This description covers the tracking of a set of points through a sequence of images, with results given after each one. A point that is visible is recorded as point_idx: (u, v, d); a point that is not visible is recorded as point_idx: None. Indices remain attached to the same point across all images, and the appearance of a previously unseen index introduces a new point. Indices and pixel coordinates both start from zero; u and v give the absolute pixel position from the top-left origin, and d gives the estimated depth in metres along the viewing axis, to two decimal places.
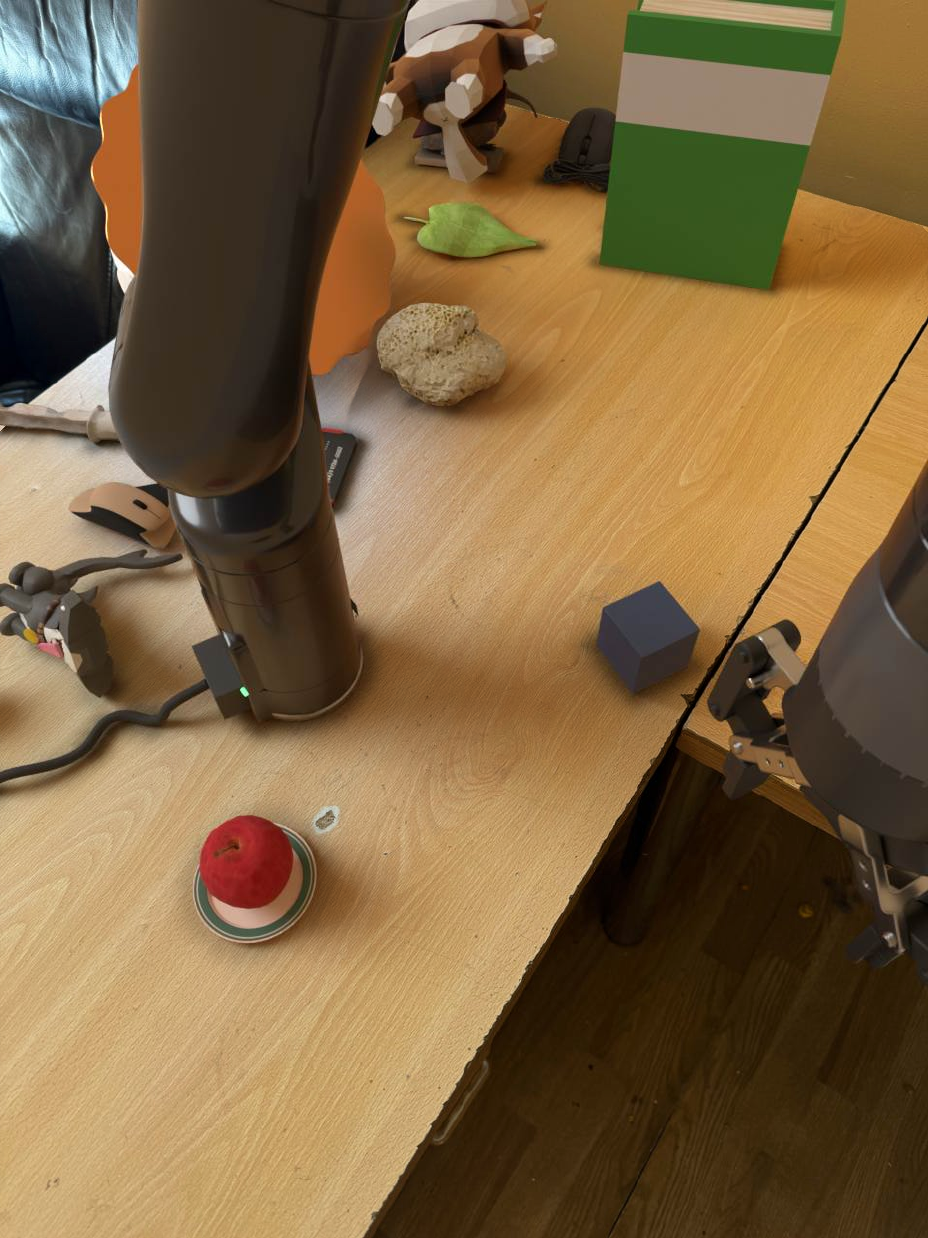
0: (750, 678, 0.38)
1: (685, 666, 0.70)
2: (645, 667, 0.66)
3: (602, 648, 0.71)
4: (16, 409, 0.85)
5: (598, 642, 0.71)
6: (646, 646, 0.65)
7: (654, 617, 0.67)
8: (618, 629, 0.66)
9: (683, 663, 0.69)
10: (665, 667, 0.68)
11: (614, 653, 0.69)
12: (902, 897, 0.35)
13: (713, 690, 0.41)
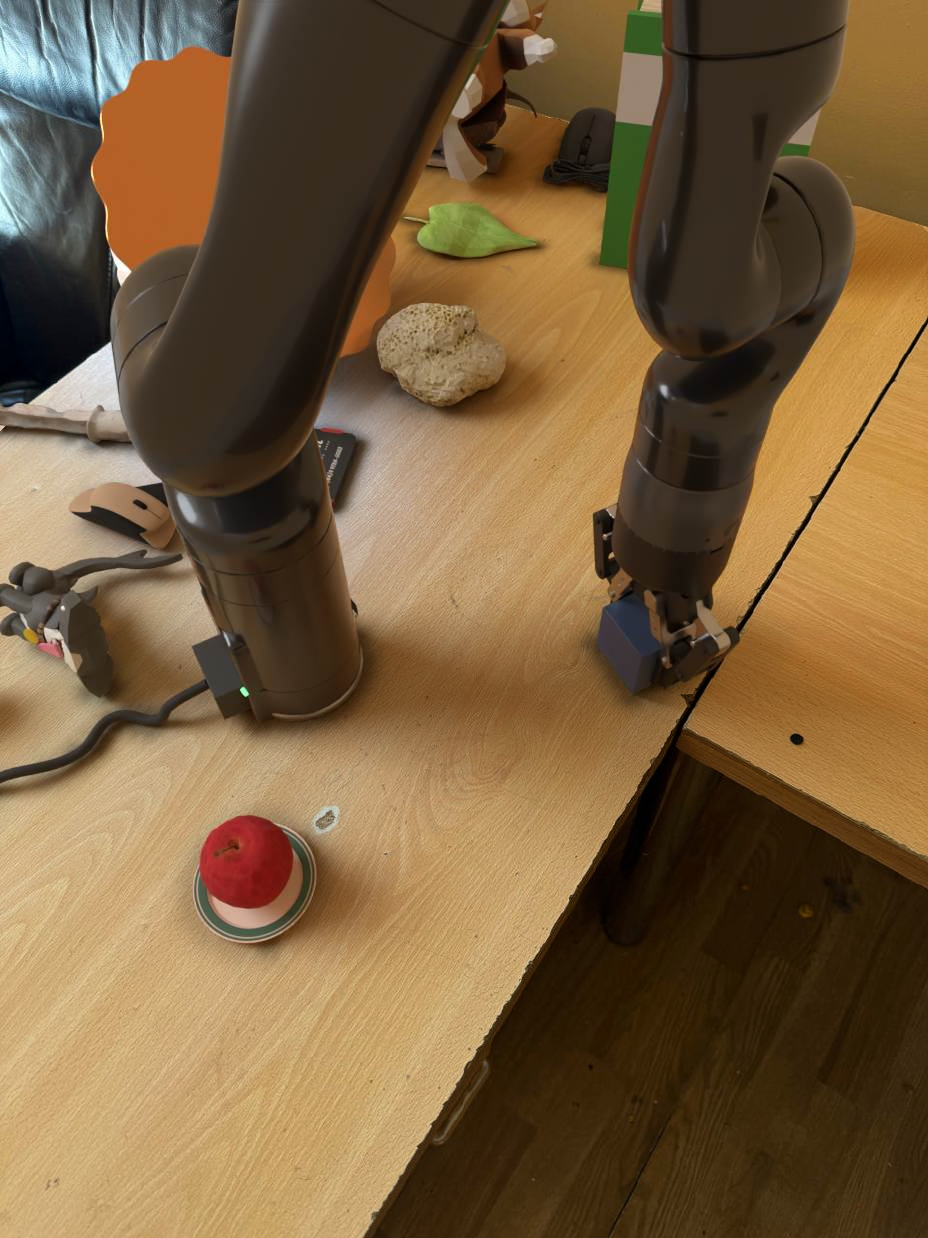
0: (604, 533, 0.66)
1: None
2: (645, 666, 0.66)
3: (602, 648, 0.71)
4: (16, 409, 0.85)
5: (598, 642, 0.71)
6: (646, 646, 0.66)
7: None
8: (618, 629, 0.66)
9: None
10: None
11: (614, 653, 0.69)
12: (673, 637, 0.63)
13: (595, 558, 0.69)
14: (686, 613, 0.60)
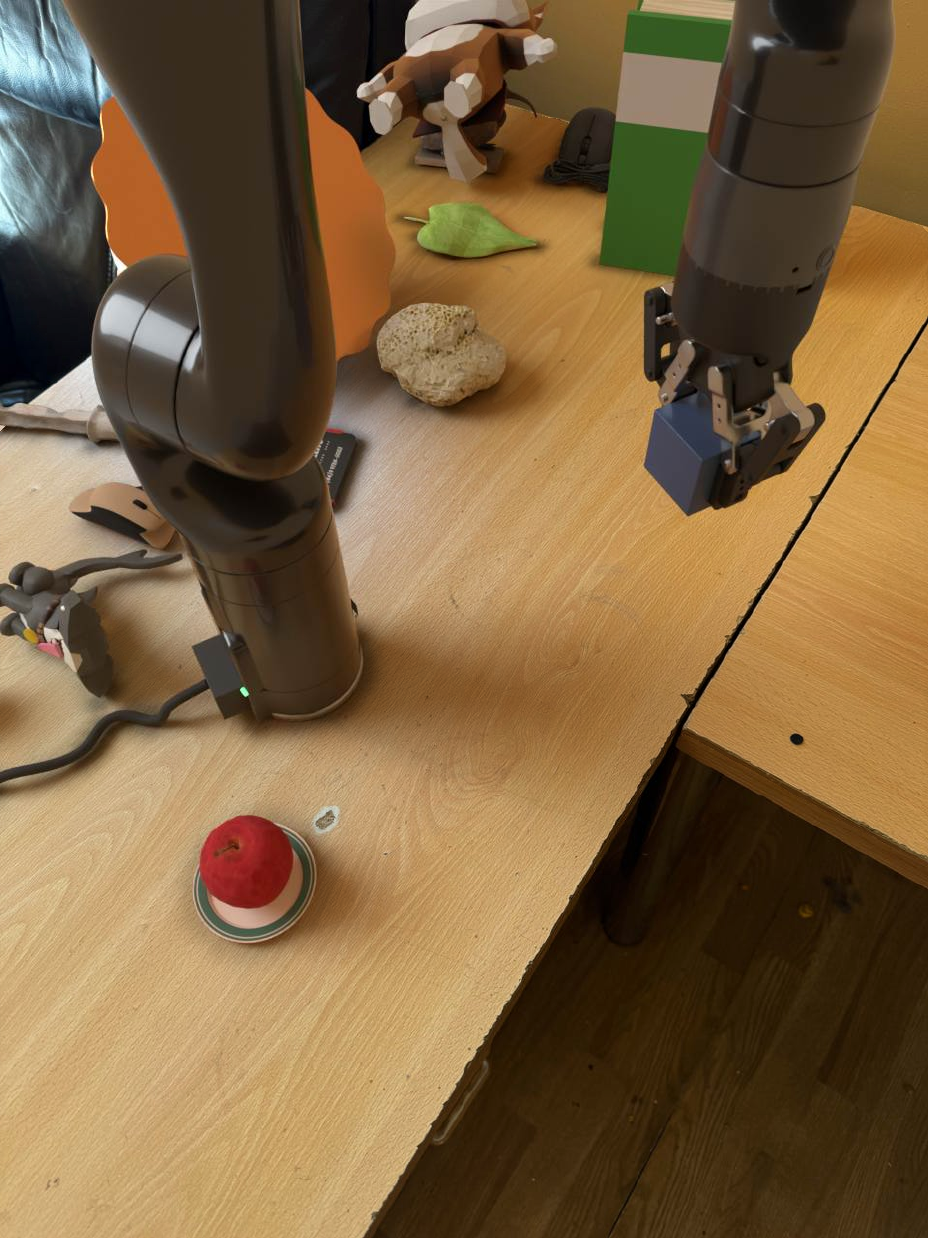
0: (657, 316, 0.56)
1: None
2: (704, 476, 0.56)
3: (651, 467, 0.61)
4: (16, 409, 0.85)
5: (646, 461, 0.61)
6: (706, 448, 0.56)
7: None
8: (674, 432, 0.57)
9: None
10: None
11: (666, 468, 0.59)
12: (740, 431, 0.54)
13: (644, 355, 0.59)
14: (761, 386, 0.50)
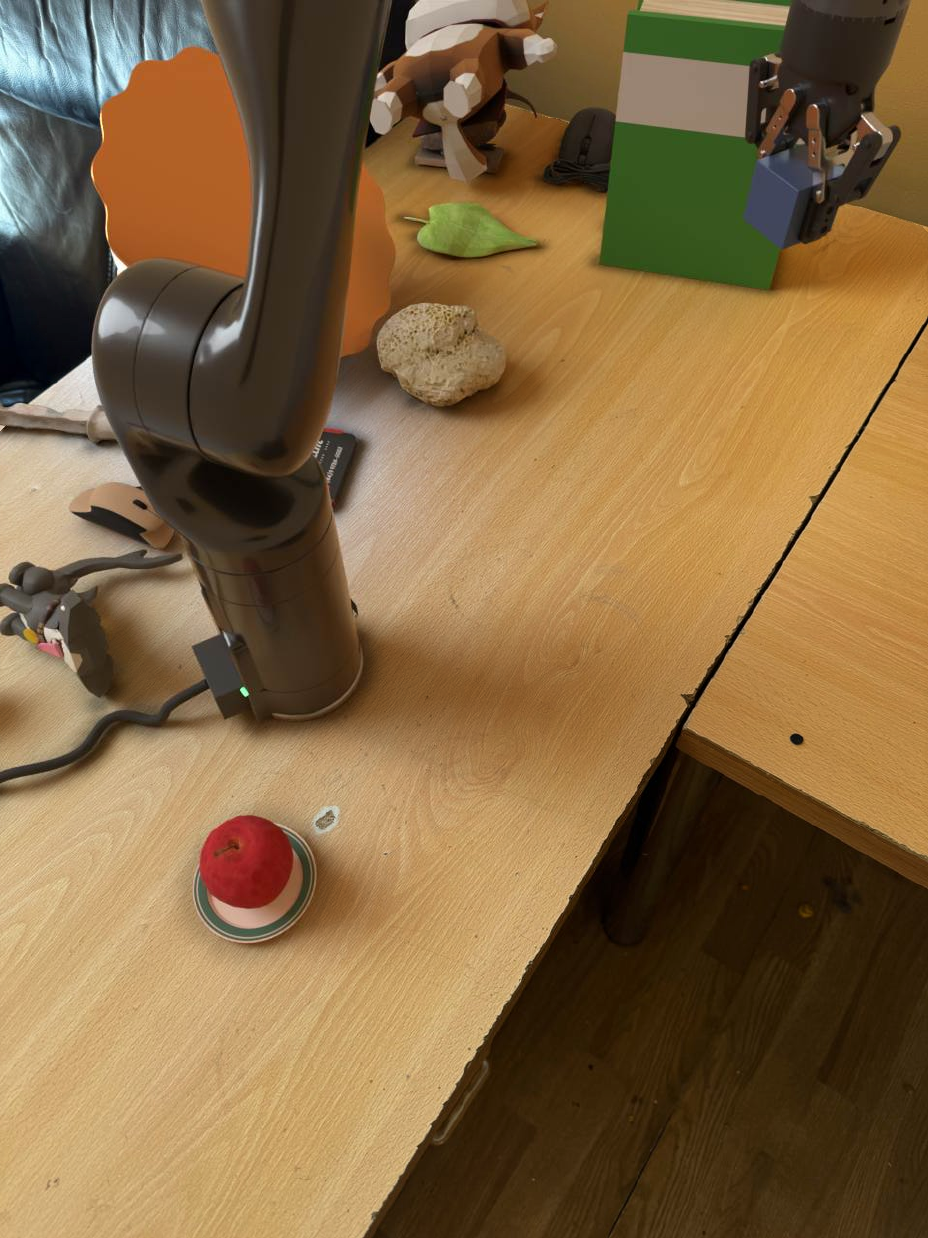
0: (761, 80, 0.71)
1: None
2: (798, 208, 0.72)
3: (750, 216, 0.76)
4: (16, 409, 0.85)
5: (746, 212, 0.76)
6: (801, 183, 0.71)
7: (806, 165, 0.72)
8: (774, 174, 0.72)
9: None
10: None
11: (764, 211, 0.74)
12: (830, 163, 0.69)
13: (746, 121, 0.74)
14: (851, 113, 0.65)
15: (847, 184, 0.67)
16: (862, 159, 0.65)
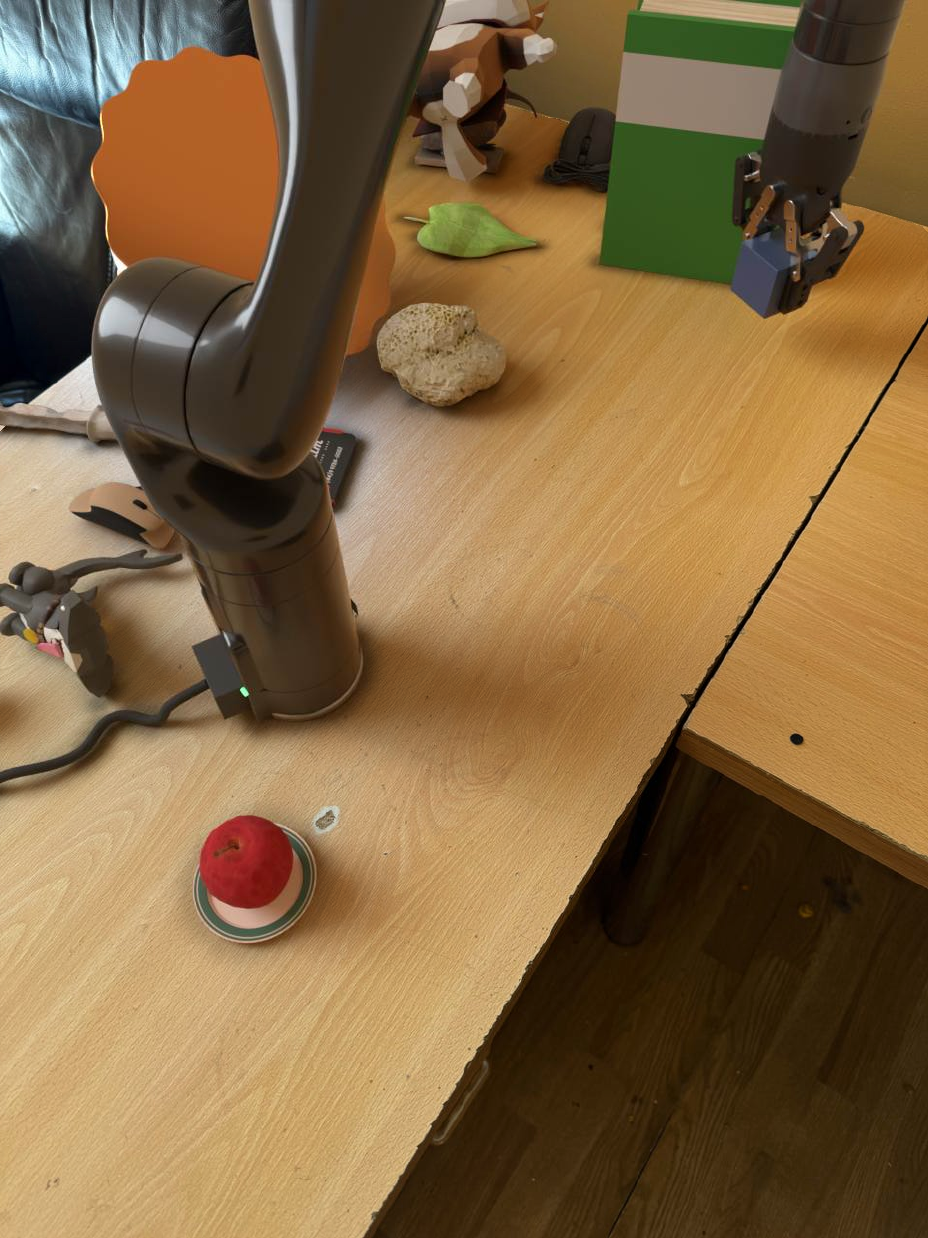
0: (745, 175, 0.82)
1: None
2: (778, 284, 0.82)
3: (737, 288, 0.87)
4: (16, 409, 0.85)
5: (733, 284, 0.87)
6: (780, 263, 0.81)
7: (784, 247, 0.83)
8: (756, 255, 0.82)
9: None
10: None
11: (749, 285, 0.85)
12: (804, 248, 0.79)
13: (733, 207, 0.84)
14: (821, 209, 0.76)
15: (819, 268, 0.78)
16: (831, 248, 0.76)
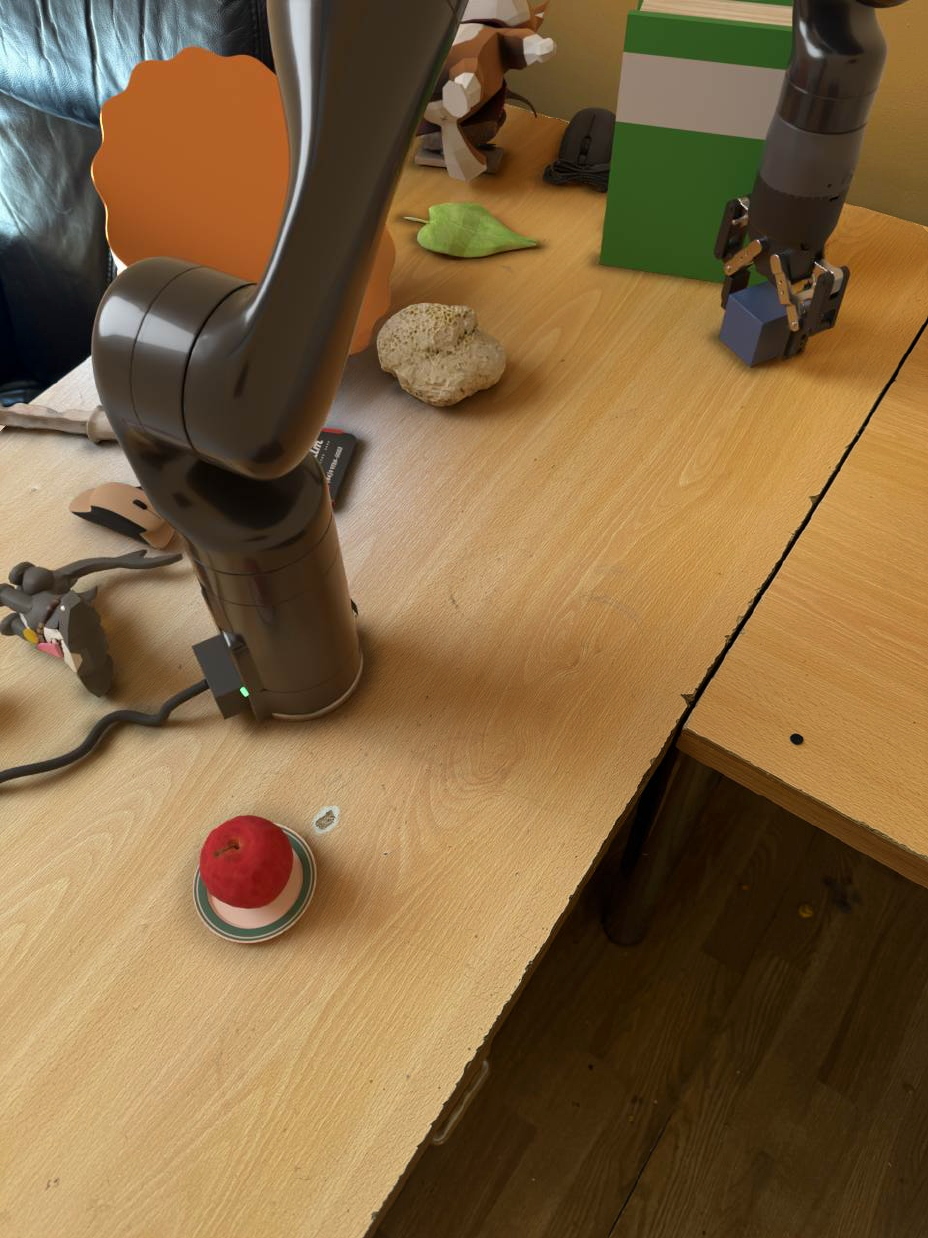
0: (733, 219, 0.85)
1: None
2: (763, 336, 0.87)
3: (724, 337, 0.91)
4: (16, 409, 0.85)
5: (720, 333, 0.91)
6: (765, 316, 0.86)
7: (769, 300, 0.87)
8: (743, 308, 0.87)
9: None
10: (776, 343, 0.89)
11: (736, 335, 0.89)
12: (798, 297, 0.82)
13: (716, 240, 0.88)
14: (805, 264, 0.80)
15: (814, 316, 0.81)
16: (821, 294, 0.79)
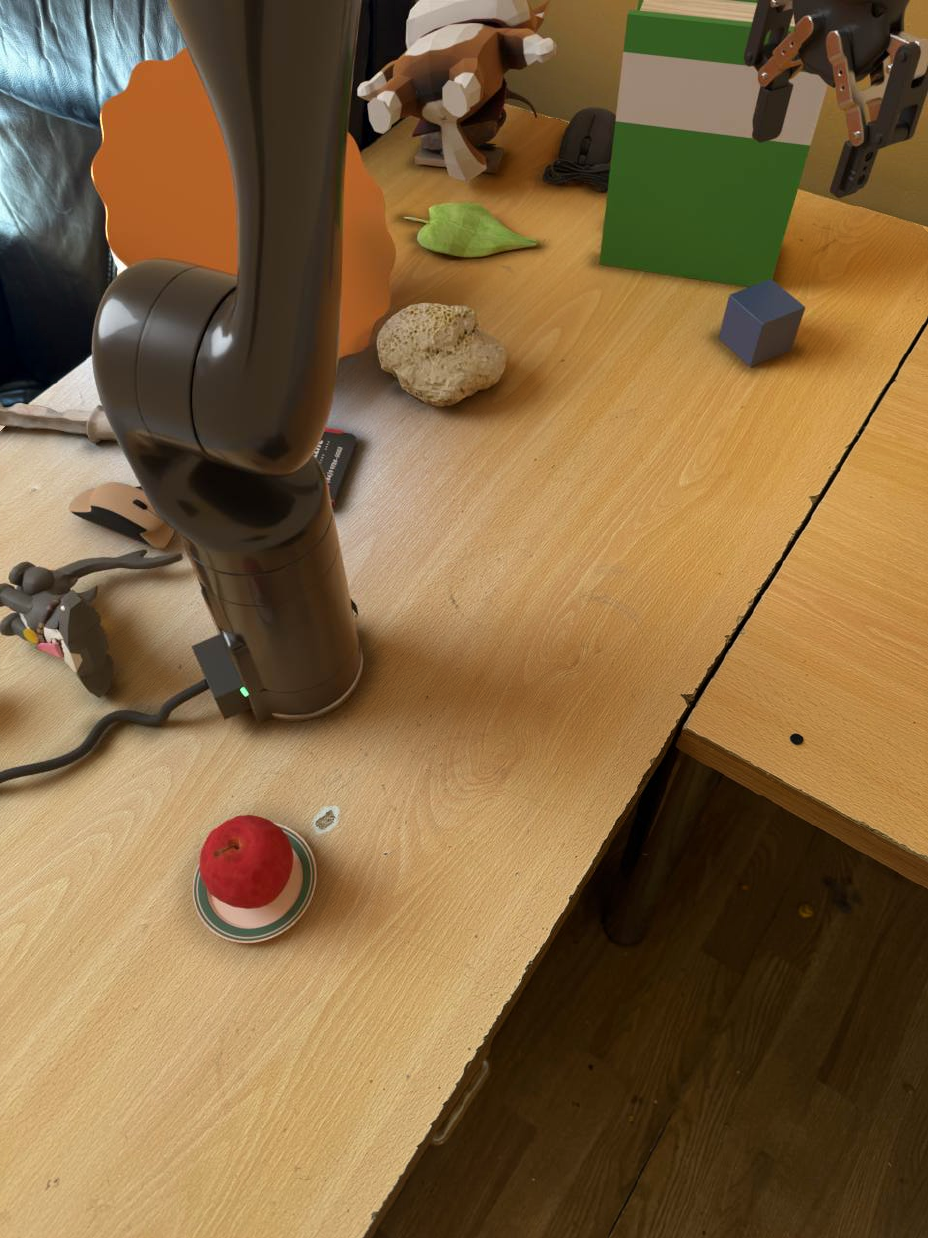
0: None
1: (789, 348, 0.90)
2: (763, 336, 0.87)
3: (724, 337, 0.91)
4: (16, 409, 0.85)
5: (720, 333, 0.91)
6: (765, 316, 0.86)
7: (769, 300, 0.87)
8: (743, 308, 0.87)
9: (788, 343, 0.90)
10: (776, 343, 0.89)
11: (736, 335, 0.89)
12: (864, 95, 0.60)
13: (748, 39, 0.66)
14: (877, 38, 0.57)
15: (888, 115, 0.58)
16: (900, 77, 0.56)
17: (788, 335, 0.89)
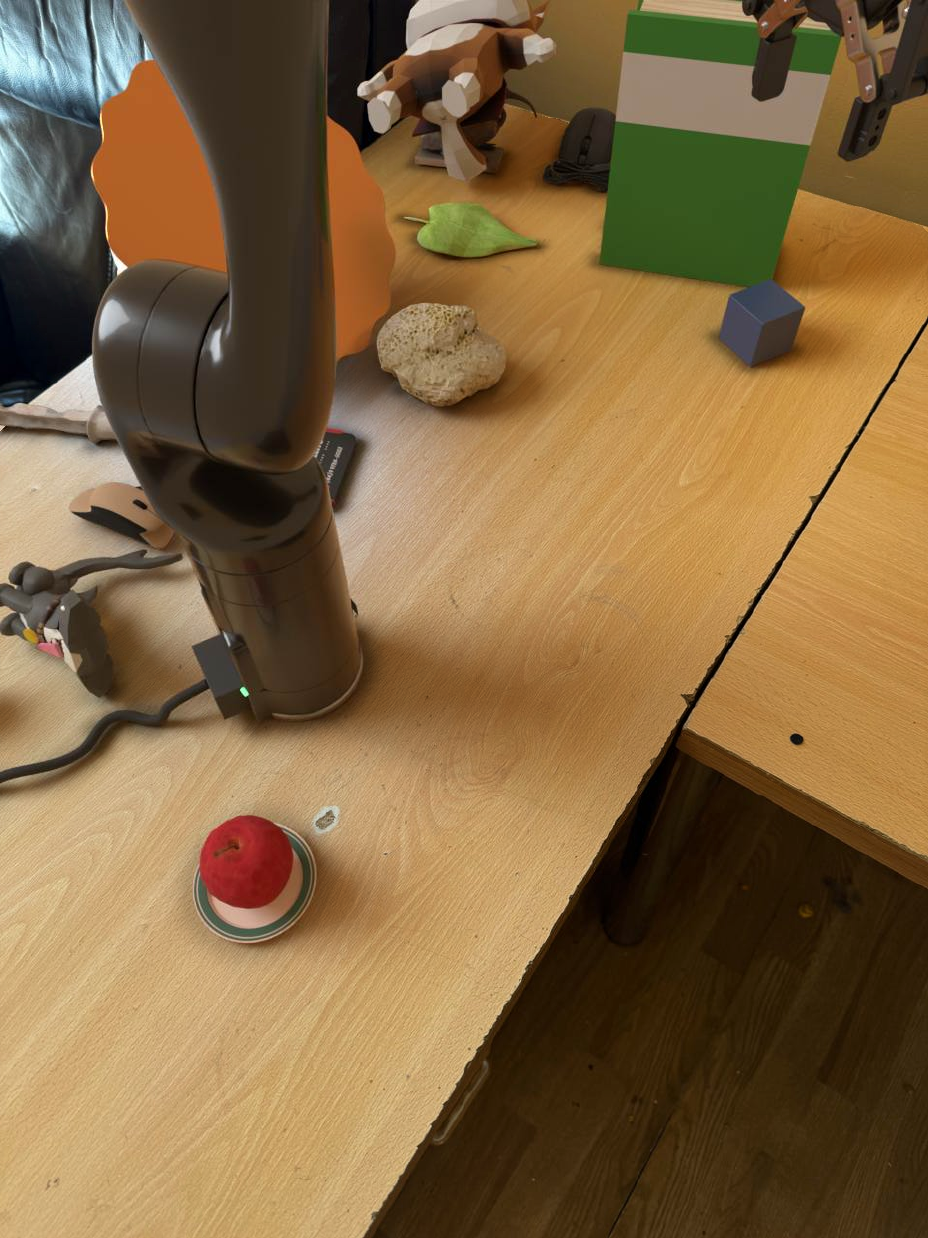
0: None
1: (789, 348, 0.90)
2: (763, 336, 0.87)
3: (724, 337, 0.91)
4: (16, 409, 0.85)
5: (720, 333, 0.91)
6: (765, 316, 0.86)
7: (769, 300, 0.87)
8: (743, 308, 0.87)
9: (788, 343, 0.90)
10: (776, 343, 0.89)
11: (736, 335, 0.89)
12: (876, 44, 0.53)
13: None
14: None
15: (904, 66, 0.52)
16: (918, 21, 0.50)
17: (788, 335, 0.89)
